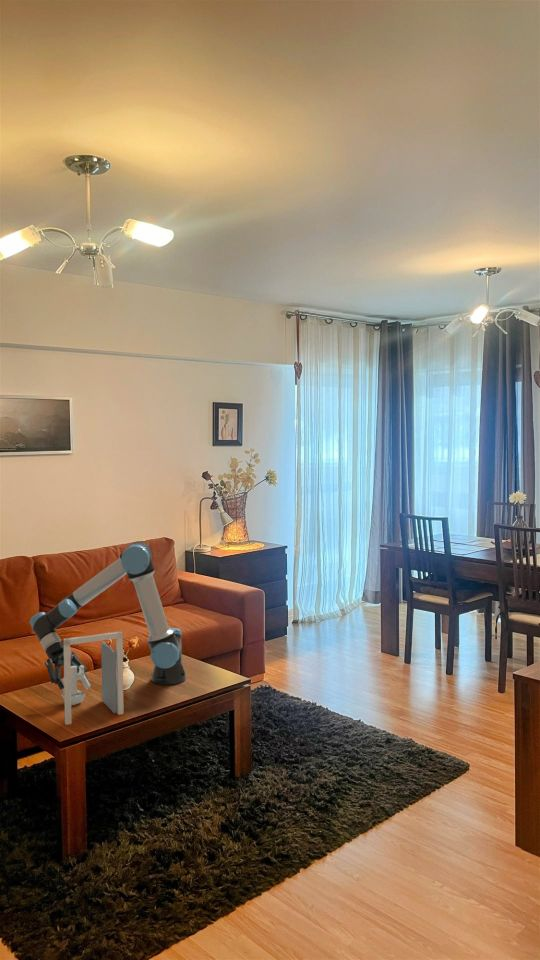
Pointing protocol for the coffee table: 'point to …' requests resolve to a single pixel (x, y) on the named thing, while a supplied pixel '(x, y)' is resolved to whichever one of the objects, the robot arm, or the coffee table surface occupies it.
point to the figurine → (76, 694)
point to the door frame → (67, 668)
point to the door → (109, 677)
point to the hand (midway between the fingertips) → (78, 691)
